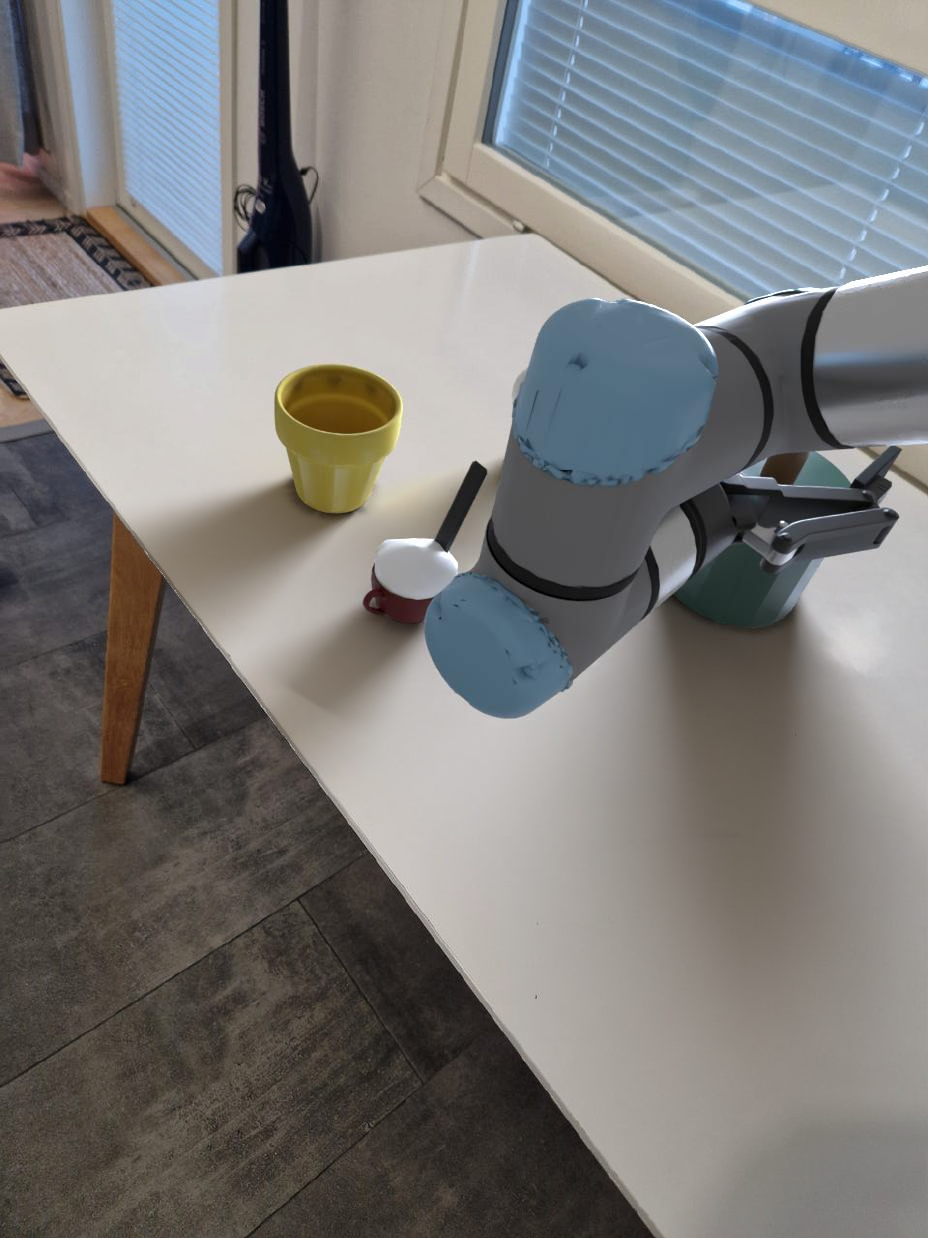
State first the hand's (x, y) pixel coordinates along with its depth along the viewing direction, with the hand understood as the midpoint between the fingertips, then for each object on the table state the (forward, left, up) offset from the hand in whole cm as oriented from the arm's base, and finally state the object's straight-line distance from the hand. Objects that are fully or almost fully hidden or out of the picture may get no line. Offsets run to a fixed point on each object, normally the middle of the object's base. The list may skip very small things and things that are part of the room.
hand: (802, 415), depth 63 cm
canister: (+1, -3, -19) cm, 19 cm away
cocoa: (+12, +24, -19) cm, 33 cm away
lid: (+1, -3, -8) cm, 9 cm away
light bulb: (+23, +2, -19) cm, 29 cm away
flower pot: (+27, +22, -19) cm, 39 cm away
